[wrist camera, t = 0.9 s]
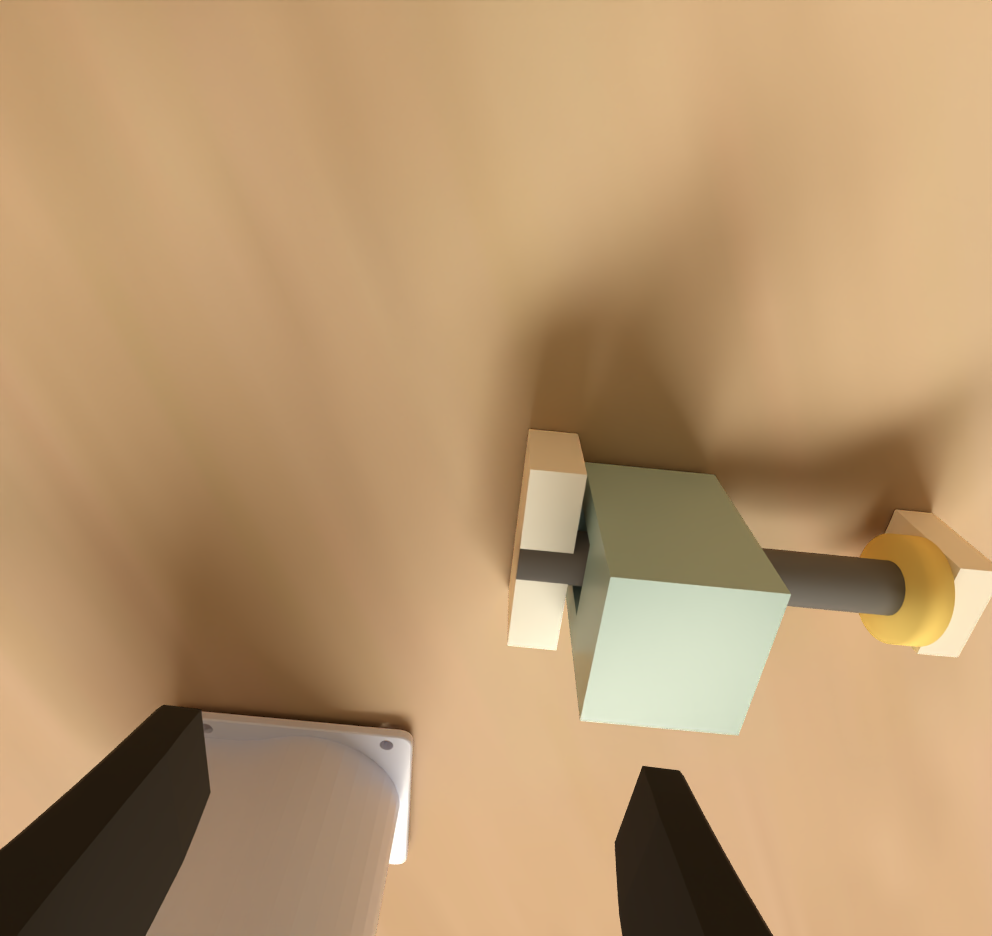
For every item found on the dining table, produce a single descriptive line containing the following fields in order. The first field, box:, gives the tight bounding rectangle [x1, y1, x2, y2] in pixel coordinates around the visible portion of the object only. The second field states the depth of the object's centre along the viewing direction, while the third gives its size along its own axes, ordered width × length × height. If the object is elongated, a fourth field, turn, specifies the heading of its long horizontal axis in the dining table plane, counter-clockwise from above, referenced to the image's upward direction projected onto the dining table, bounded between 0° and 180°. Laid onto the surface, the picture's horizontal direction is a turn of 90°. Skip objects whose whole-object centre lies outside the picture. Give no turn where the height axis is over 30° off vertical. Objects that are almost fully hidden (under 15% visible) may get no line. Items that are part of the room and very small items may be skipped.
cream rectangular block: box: [507, 429, 587, 650], centre depth 19 cm, size 2×6×3 cm, turn 175°
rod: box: [516, 530, 955, 647], centre depth 18 cm, size 13×3×3 cm, turn 85°
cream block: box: [885, 509, 992, 657], centre depth 19 cm, size 1×3×3 cm, turn 175°
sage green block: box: [566, 462, 791, 735], centre depth 17 cm, size 4×4×6 cm
